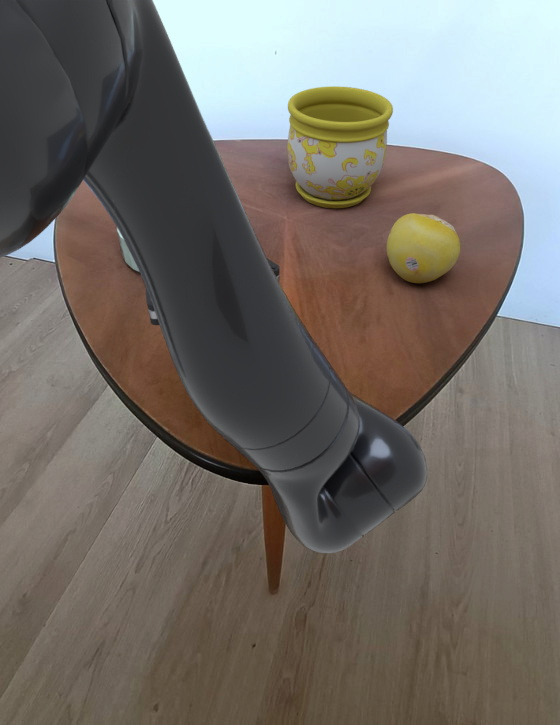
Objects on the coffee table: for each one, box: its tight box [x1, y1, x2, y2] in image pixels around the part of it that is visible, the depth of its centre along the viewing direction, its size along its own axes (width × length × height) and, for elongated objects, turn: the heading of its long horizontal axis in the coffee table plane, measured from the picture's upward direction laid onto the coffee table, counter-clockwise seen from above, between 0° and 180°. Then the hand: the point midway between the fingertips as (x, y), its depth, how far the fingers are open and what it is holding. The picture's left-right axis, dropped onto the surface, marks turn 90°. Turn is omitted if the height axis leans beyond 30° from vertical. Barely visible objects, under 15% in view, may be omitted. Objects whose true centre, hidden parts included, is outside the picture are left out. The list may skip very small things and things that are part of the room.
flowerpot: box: [286, 85, 394, 209], centre depth 100 cm, size 18×18×16 cm
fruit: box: [386, 212, 461, 284], centre depth 83 cm, size 10×11×10 cm
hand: (182, 245), depth 59 cm, fingers closed on corn cob, 4 cm apart
